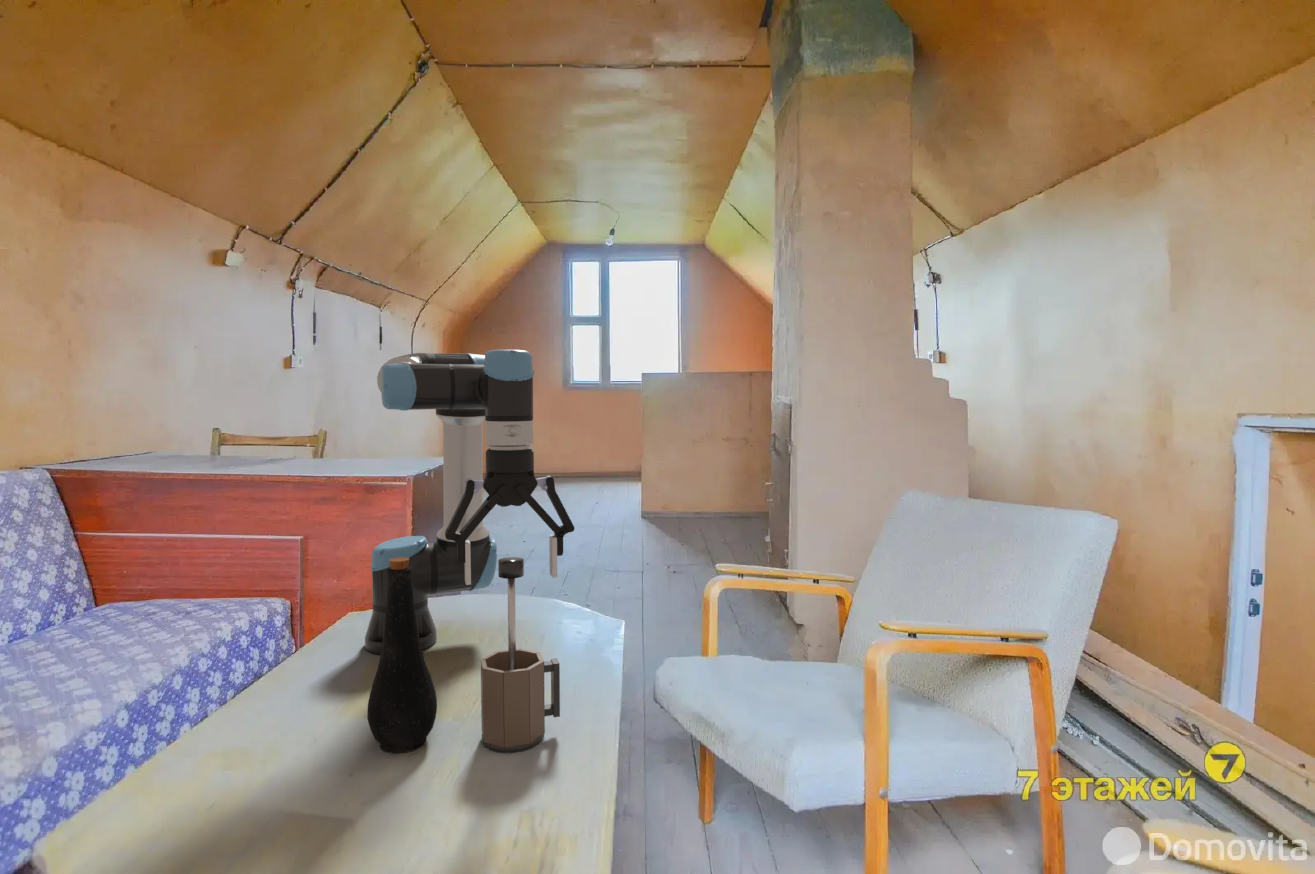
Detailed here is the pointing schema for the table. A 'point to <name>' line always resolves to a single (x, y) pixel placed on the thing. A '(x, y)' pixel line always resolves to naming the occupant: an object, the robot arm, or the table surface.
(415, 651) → the bottle
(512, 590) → the plunger
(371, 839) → the table surface
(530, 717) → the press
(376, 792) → the table surface
